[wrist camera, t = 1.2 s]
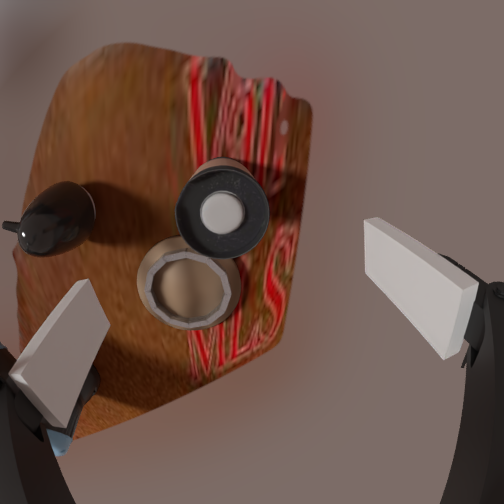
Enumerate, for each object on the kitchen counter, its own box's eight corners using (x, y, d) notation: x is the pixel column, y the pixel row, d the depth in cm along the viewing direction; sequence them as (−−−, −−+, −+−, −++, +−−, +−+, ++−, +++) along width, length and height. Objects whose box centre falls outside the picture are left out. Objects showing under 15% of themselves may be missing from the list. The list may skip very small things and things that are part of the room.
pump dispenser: (59, 169, 36) (0, 188, 22) (111, 188, 39) (62, 214, 25) (48, 226, 39) (-4, 262, 25) (97, 246, 42) (53, 292, 28)
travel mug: (254, 198, 42) (281, 246, 23) (204, 212, 42) (192, 272, 23) (240, 148, 39) (257, 154, 20) (189, 164, 39) (160, 184, 20)
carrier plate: (158, 331, 49) (156, 342, 46) (125, 247, 42) (119, 254, 40) (249, 315, 49) (251, 325, 47) (227, 223, 43) (228, 229, 40)
